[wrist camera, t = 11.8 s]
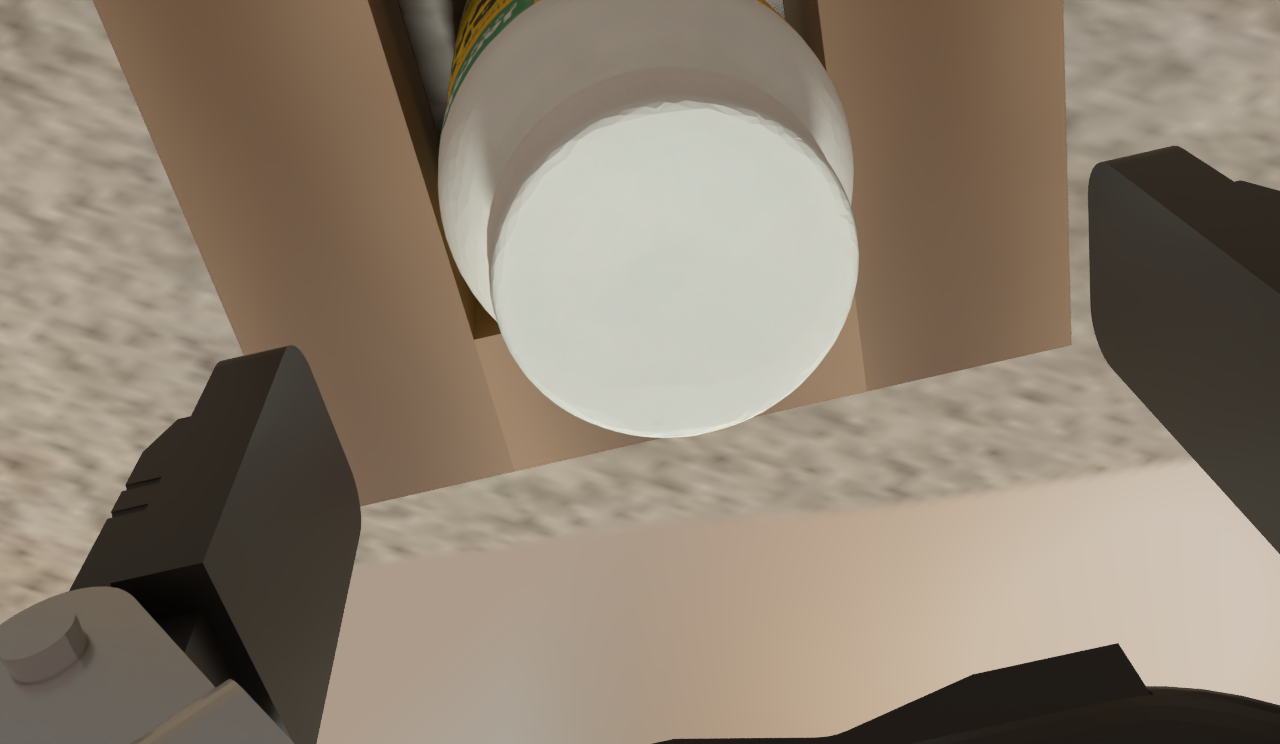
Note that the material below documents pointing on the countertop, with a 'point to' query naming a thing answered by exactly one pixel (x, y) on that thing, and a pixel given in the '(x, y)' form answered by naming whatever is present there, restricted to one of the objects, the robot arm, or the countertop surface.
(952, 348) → the socket board
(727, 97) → the supplement bottle
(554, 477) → the countertop surface
